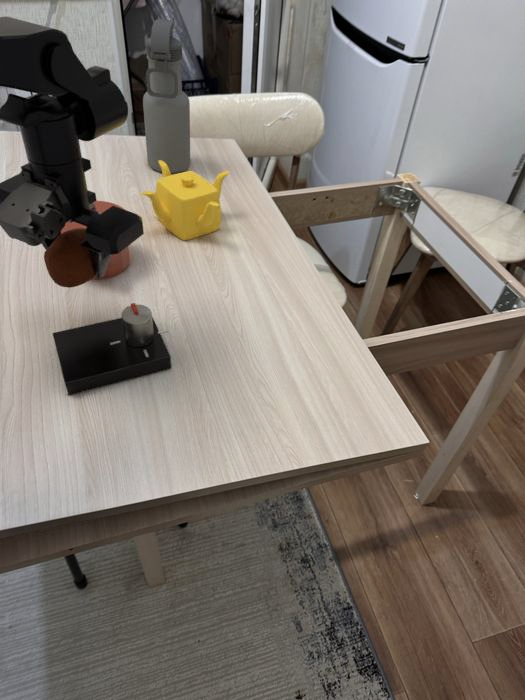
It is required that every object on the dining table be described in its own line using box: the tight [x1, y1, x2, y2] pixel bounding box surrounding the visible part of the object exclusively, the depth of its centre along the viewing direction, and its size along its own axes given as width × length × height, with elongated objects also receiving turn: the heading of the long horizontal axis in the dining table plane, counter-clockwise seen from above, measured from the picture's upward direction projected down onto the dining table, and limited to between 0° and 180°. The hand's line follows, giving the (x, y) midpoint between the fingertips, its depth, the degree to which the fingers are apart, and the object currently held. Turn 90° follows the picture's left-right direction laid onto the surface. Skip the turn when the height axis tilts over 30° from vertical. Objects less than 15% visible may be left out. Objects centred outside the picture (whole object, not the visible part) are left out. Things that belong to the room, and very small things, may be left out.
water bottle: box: [142, 18, 191, 174], centre depth 103 cm, size 10×10×28 cm
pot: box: [91, 243, 133, 280], centre depth 82 cm, size 11×17×7 cm
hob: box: [52, 316, 172, 396], centre depth 69 cm, size 15×10×3 cm, turn 115°
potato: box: [43, 228, 96, 289], centre depth 64 cm, size 7×9×6 cm
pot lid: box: [61, 200, 126, 234], centre depth 79 cm, size 12×12×4 cm
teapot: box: [140, 160, 230, 241], centre depth 93 cm, size 15×14×10 cm
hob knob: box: [121, 302, 154, 347], centre depth 67 cm, size 4×4×5 cm
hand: (78, 268), depth 65 cm, fingers closed on potato, 7 cm apart
